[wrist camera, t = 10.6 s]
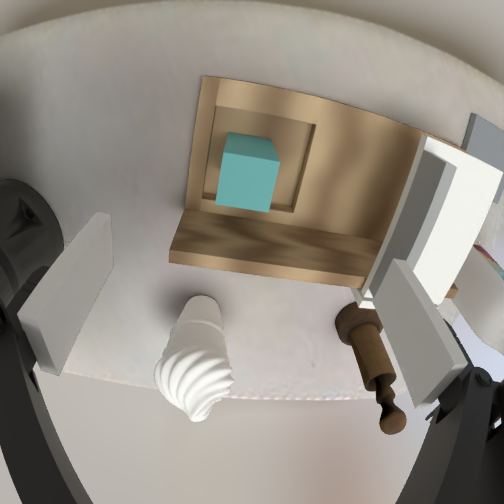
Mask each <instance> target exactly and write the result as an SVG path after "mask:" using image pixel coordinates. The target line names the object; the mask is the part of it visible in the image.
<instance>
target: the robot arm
mask: <svg viewBox="0 0 504 504" xmlns="http://www.w3.org/2000/svg"><path fill="white" fill-rule="evenodd" d="M113 267H114V260H113V243H112V218H111V214H106V213H98V212H96V213H95V214H94V215H93V216H92V217H91V219H90V220H89V221H88V222H87V223H86V224H85V225H84V227H83V228H82V229H81V230H80V231H79V232H78V234H77V235H76V236H75V237H74V238H73V240H72V241H71V242H70V243H69V245H68V246H67V247H66V248H65V249H64V251H63V239H62V234H61V230H60V227H59V224H58V222H57V219H56V217H55V215H54V214H53V212H52V210H51V208H50V207H49V206H48V204H47V203H46V201H45V200H44V199H43V198H42V197H41V196H40V195H39V194H38V193H37V192H36V191H35V190H34V189H32V188H31V187H29V186H28V185H26V184H24V183H22V182H20V181H17V180H11V179H6V180H1V181H0V446H1V449H2V453H3V455H4V459H5V461H6V464H7V466H8V470H9V473H10V475H11V478H12V480H13V483H14V485H15V488H16V490H17V493H18V495H19V497H20V499H21V502H22V504H93V503H92V501H91V499H90V497H89V496H88V494H87V492H86V491H85V489H84V487H83V485H82V484H81V482H80V480H79V478H78V476H77V474H76V472H75V470H74V468H73V467H72V464H71V462H70V460H69V458H68V456H67V454H66V452H65V450H64V448H63V446H62V444H61V441H60V439H59V437H58V435H57V432H56V430H55V428H54V425H53V423H52V420H51V418H50V415H49V413H48V410H47V407H46V405H45V402H44V399H43V396H42V394H41V391H40V388H39V385H38V382H37V379H36V375H35V373H34V371H33V367H34V365H35V363H36V361H37V362H38V364H39V367H40V369H41V370H42V371H45V372H48V373H50V374H54V375H57V376H59V375H60V373H61V371H62V369H63V366H64V364H65V362H66V360H67V357H68V355H69V353H70V351H71V349H72V347H73V344H74V342H75V340H76V338H77V336H78V334H79V332H80V330H81V328H82V326H83V324H84V321H85V319H86V317H87V315H88V313H89V312H90V310H91V308H92V306H93V304H94V302H95V300H96V298H97V296H98V294H99V292H100V290H101V289H102V287H103V285H104V283H105V281H106V279H107V277H108V276H109V274H110V272H111V270H112V268H113ZM372 303H373V305H374V307H375V309H376V312H377V314H378V316H379V318H380V321H381V323H382V325H383V328H384V330H385V332H386V335H387V337H388V339H389V342H390V344H391V347H392V349H393V352H394V354H395V356H396V359H397V361H398V364H399V367H400V369H401V372H402V374H403V377H404V379H405V382H406V385H407V387H408V390H409V393H410V395H411V398H412V401H413V404H414V406H415V408H422V407H429V406H430V405H431V404H432V403H433V402H434V401H435V400H436V399H437V398H438V400H439V402H440V404H439V405H438V406H437V407H436V408H435V409H434V410H433V411H432V412H431V413H430V414H429V415H428V416H427V417H426V419H425V420H428V419H429V418H430V417H432V416H433V418H432V420H431V421H430V426H429V429H428V432H427V434H426V437H425V439H424V442H423V445H422V447H421V450H420V452H419V454H418V457H417V459H416V462H415V464H414V466H413V468H412V471H411V473H410V475H409V477H408V479H407V481H406V484H405V486H404V488H403V490H402V492H401V494H400V496H399V498H398V500H397V502H396V504H504V380H503V381H502V382H501V383H499V382H495V381H493V380H492V378H491V376H490V375H489V373H488V372H487V371H486V370H484V369H482V368H480V367H474V365H473V364H472V362H471V360H470V358H469V356H468V354H467V353H466V351H465V349H464V347H463V345H462V344H460V340H459V339H458V337H456V333H455V331H454V330H453V328H452V326H451V325H450V324H449V323H448V322H447V321H446V320H445V319H443V318H442V316H441V315H440V313H439V311H438V310H437V308H436V306H435V305H434V303H433V302H432V300H431V298H430V297H429V295H428V294H427V292H426V291H425V289H424V287H423V286H422V284H421V283H420V281H419V280H418V278H417V277H416V275H415V274H414V272H413V271H412V269H411V268H410V266H409V265H408V263H407V262H406V261H405V260H399V259H394V258H393V260H392V262H391V264H390V266H389V269H388V271H387V273H386V275H385V277H384V279H383V281H382V283H381V285H380V287H379V289H378V291H377V293H376V295H375V297H374V299H373V301H372ZM500 418H501V424H500V425H499V426H498V427H497V428H495V427H494V423H495V422H497V421H498V420H499V419H500Z"/></svg>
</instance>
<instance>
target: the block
mask: <svg viewBox="0 0 504 504" xmlns="http://www.w3.org/2000/svg"><path fill="white" fill-rule="evenodd" d="M279 165H280V160H279V158H278V155H277V153H276V150H275V148H274V145H273V143H272V140H271V139H268V138H263V137H257V136H252V135H246V134H240V133H234V132H228V136H227V140H226V144H225V148H224V152H223V158H222V164H221V170H220V177H219V183H218V189H217V196H216V203H215V204H217V205H223V206H230V207H236V208H243V209H249V210H255V211H262V212H268V213H269V208H270V204H271V200H272V196H273V191H274V187H275V183H276V178H277V174H278V170H279Z"/></svg>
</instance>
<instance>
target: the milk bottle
mask: <svg viewBox="0 0 504 504" xmlns="http://www.w3.org/2000/svg"><path fill="white" fill-rule="evenodd" d="M453 283H454V284H455V285H456V287H457V288H458V289H459V290H458V292H457V293H456V295H455V297H454V298H451V300H452V301H453V303H454V304H455V305H456V307H457V308H458V310H459V311H460V313H461V314H462V316H463V317H464V319H465V320H466V322H467V323H468V325H469V326H470V327H471V329H472V330H473V332H474V333H475V334H476V335H477V337H478V338H479V339H480V340H481V341H482V342H484V343H485V344H486V345H488V346H490V347H491V348H493V349H495V350H497V351H499V352H500V353H501V354H503V355H504V270H503V269H502V268H501V267H500V266H499V265H498V263H497V262H496V261H495V260H494V259H493V258H492V257H491V256H490V255H489V254H488V253H487V252H486V251H485V250H484V249H483V248H482V247H481V246H480V245H479V244H478V243H477V242H476V241H475V242H474V244H473V246H472V248H471V250H470V252H469V254H468V256H467V258H466V260H465V261H464V263H463V265H462V267H461V269H460V271H459V273H458V275H457V276H456V278H455V280H454V282H453Z"/></svg>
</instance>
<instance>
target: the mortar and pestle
mask: <svg viewBox="0 0 504 504" xmlns="http://www.w3.org/2000/svg"><path fill="white" fill-rule="evenodd" d="M335 326H336V329H337V332H338V336H339V338H340V340H341V341H342V342H343V343H344V344H346V345H350V346H352V348H353V351H354V354H355V357H356V360H357V363H358V366H359V369H360V372H361V376H362V379H363V382H364V386H365V389H366V390H367V391H376V401H377V403H378V404H380V405H381V406H382V414H381V417H380V422H379V424H380V428H381V430H382V431H383V432H384V433H385V434H388V435H392V434H396V433H399V432H400V431H402V430H403V429H404V427H405V425H406V415H405V413H404V412H403V411H402V410H401V409H399V408H398V407H397V406H396V405H395V404H394V402H393V399H394V398H395V393H394V391H393V389H392V388H391V387H390V385H391V384H392V383H393V382H394V381H395V380H396V373H395V371H394V368H393V366H392V363H391V361H390V359H389V356H388V354H387V352H386V349H385V347H384V344H383V342H382V340H381V337H380V335H379V334H380V332H381V331H382V329H383V325H382V323H381V321H380V318H379V316H378V314H377V312H376V309H368V308H359V307H358V305H357V302H355V303H352V304H350V305H348V306H347V307H345V308H344V309H343V310H342V311H341V312H340V313H339V314H338V316H337V318H336V321H335Z"/></svg>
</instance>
